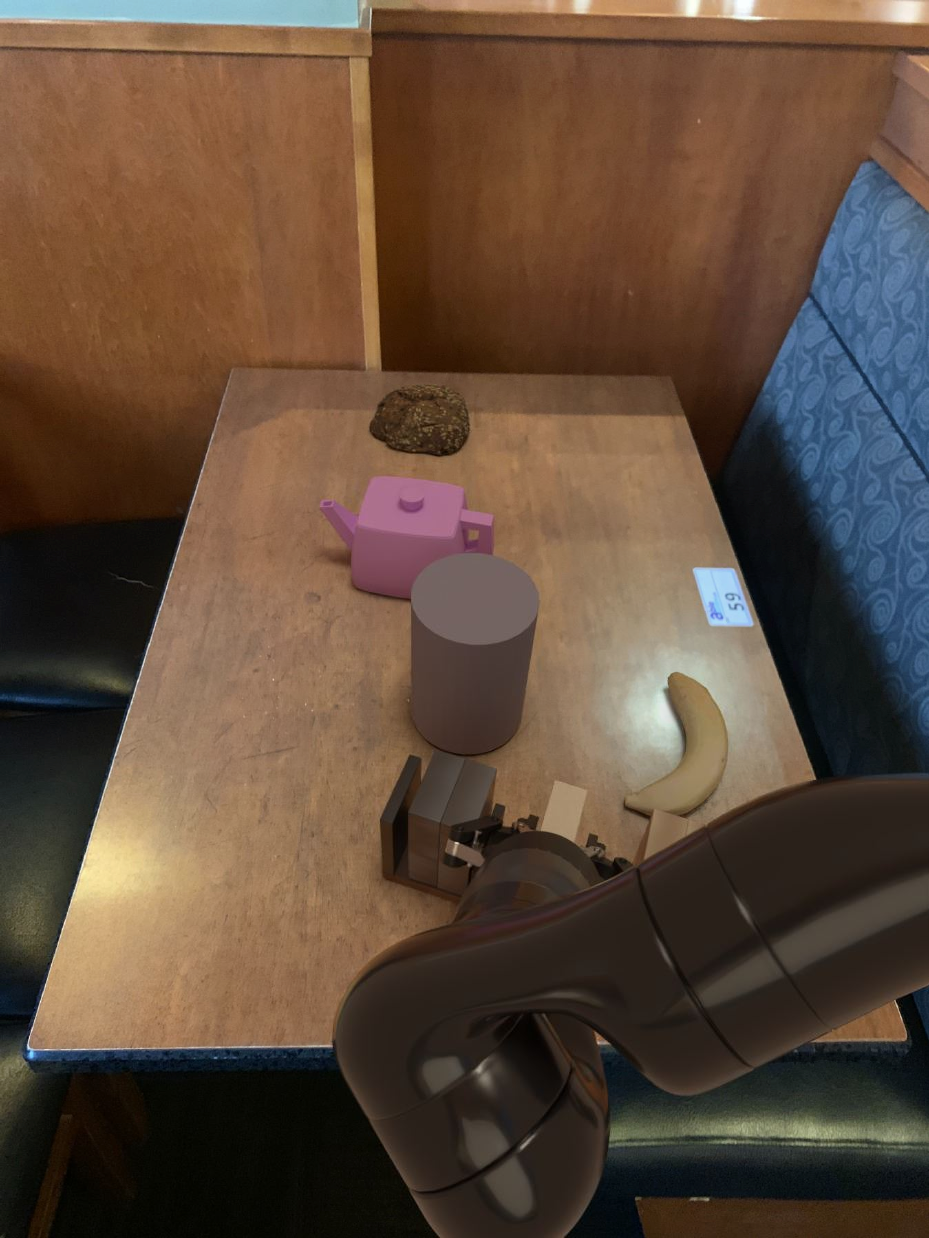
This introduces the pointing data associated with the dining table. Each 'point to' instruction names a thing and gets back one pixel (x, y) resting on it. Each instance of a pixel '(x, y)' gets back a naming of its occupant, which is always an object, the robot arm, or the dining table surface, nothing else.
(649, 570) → the dining table surface
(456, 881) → the book rack
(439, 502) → the teapot
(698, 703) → the fruit
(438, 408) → the bread roll
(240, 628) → the dining table surface
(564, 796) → the cream book
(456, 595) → the grey upright cylinder
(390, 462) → the dining table surface
